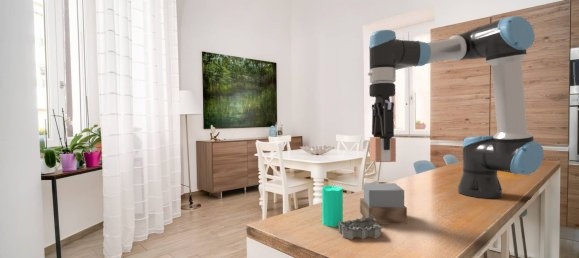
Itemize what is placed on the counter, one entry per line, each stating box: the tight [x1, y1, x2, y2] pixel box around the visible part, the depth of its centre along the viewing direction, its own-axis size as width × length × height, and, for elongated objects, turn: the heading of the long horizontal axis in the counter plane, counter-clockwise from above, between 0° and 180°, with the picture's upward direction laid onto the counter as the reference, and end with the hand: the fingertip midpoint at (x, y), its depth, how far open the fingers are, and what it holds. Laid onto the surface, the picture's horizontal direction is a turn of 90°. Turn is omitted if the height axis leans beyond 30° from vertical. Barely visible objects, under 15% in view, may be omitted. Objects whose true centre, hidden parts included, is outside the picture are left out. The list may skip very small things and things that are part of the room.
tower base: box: [359, 197, 408, 225], centre depth 95 cm, size 11×11×5 cm
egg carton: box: [337, 215, 383, 240], centre depth 82 cm, size 11×8×4 cm
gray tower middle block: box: [363, 182, 405, 208], centre depth 94 cm, size 10×10×5 cm
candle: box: [321, 182, 344, 228], centre depth 90 cm, size 6×6×12 cm
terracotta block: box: [369, 136, 397, 163], centre depth 94 cm, size 6×6×7 cm
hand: (382, 159), depth 94 cm, fingers closed on terracotta block, 6 cm apart
